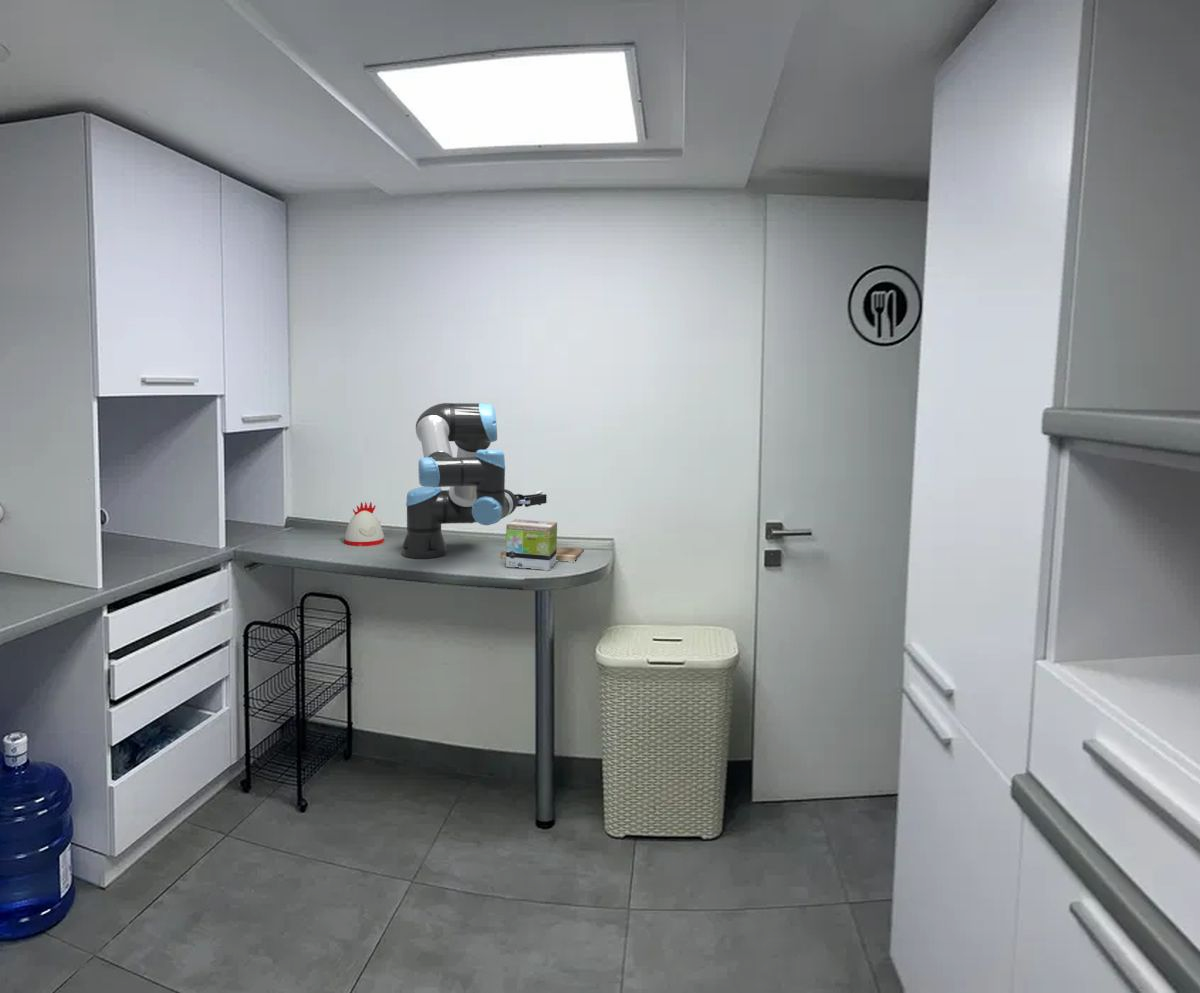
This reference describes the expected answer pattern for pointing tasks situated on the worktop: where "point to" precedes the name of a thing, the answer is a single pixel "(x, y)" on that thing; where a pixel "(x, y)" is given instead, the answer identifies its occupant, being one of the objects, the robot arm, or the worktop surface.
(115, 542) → the worktop surface
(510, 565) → the tea box
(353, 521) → the kitchen timer
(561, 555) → the tan flat board
